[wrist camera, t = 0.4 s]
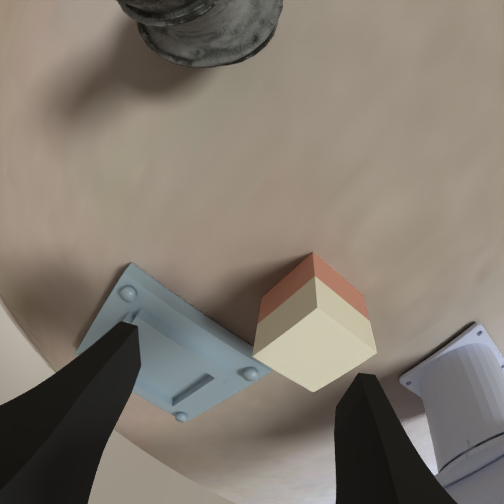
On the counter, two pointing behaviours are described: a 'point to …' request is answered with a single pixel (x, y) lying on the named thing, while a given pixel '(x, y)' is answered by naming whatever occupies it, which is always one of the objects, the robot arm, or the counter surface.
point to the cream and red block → (313, 326)
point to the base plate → (176, 348)
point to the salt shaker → (205, 28)
